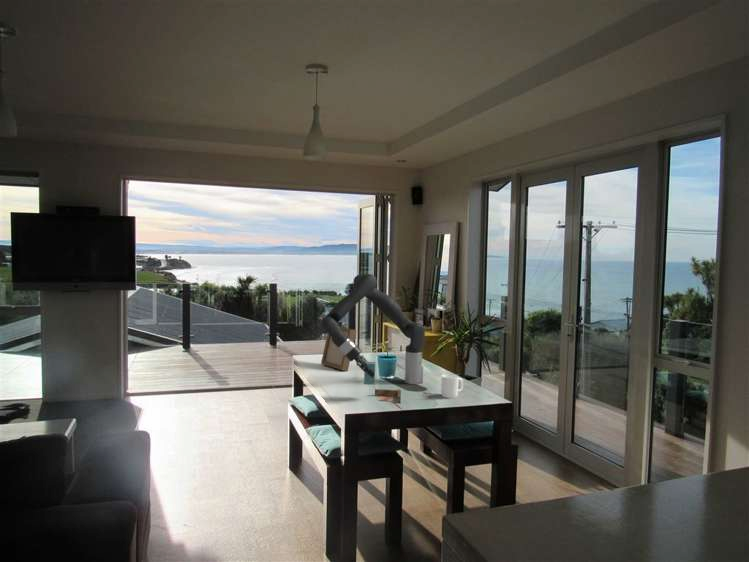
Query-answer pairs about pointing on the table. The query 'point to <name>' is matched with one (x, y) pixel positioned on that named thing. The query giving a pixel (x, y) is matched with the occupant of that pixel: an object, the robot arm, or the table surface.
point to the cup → (450, 386)
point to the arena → (388, 394)
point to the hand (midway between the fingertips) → (373, 374)
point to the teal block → (367, 377)
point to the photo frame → (337, 352)
